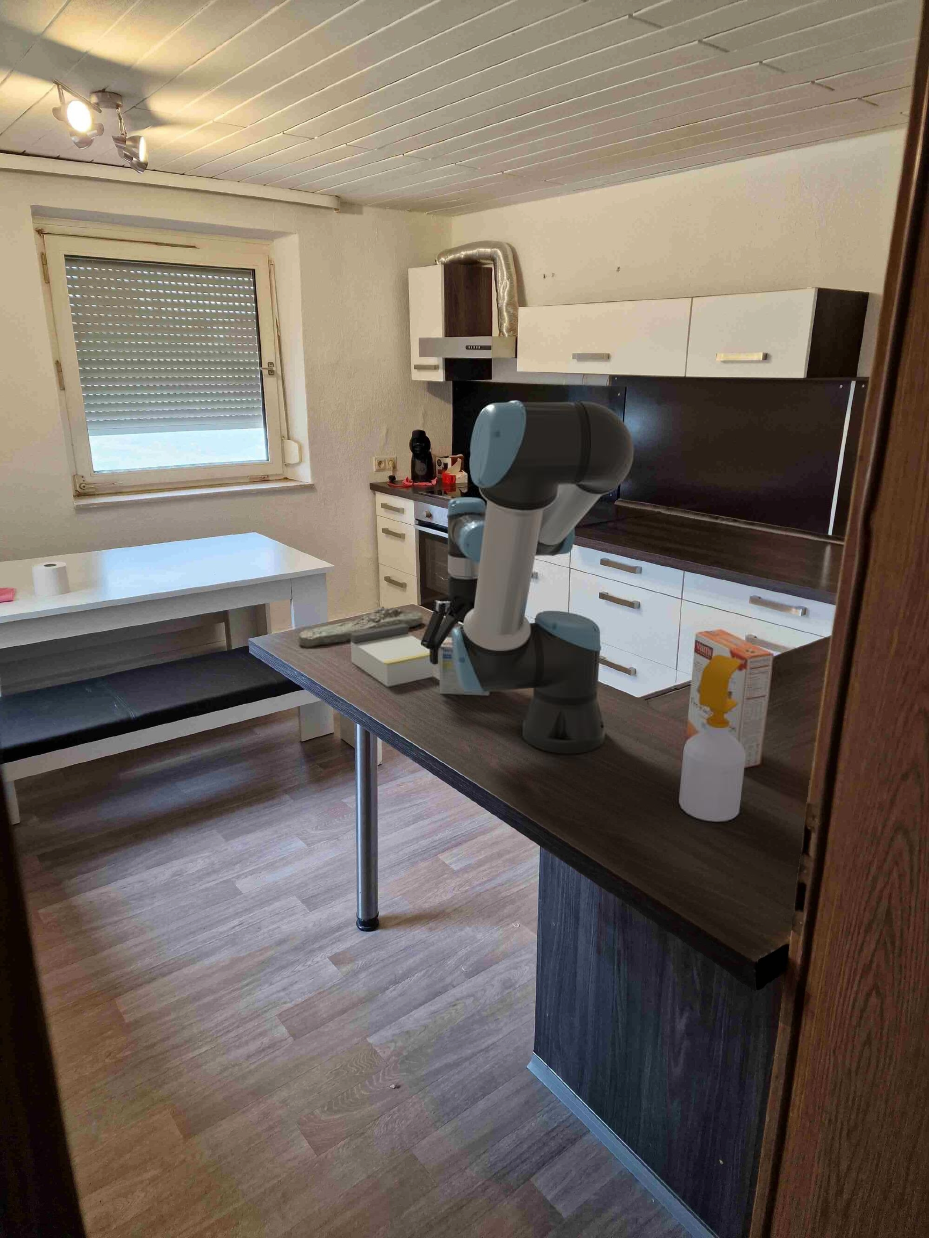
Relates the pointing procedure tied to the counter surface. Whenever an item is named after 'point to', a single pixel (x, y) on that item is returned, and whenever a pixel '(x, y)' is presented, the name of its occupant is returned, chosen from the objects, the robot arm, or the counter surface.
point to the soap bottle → (713, 752)
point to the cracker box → (734, 690)
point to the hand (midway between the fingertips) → (465, 671)
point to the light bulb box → (451, 673)
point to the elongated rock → (359, 626)
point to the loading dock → (391, 655)
